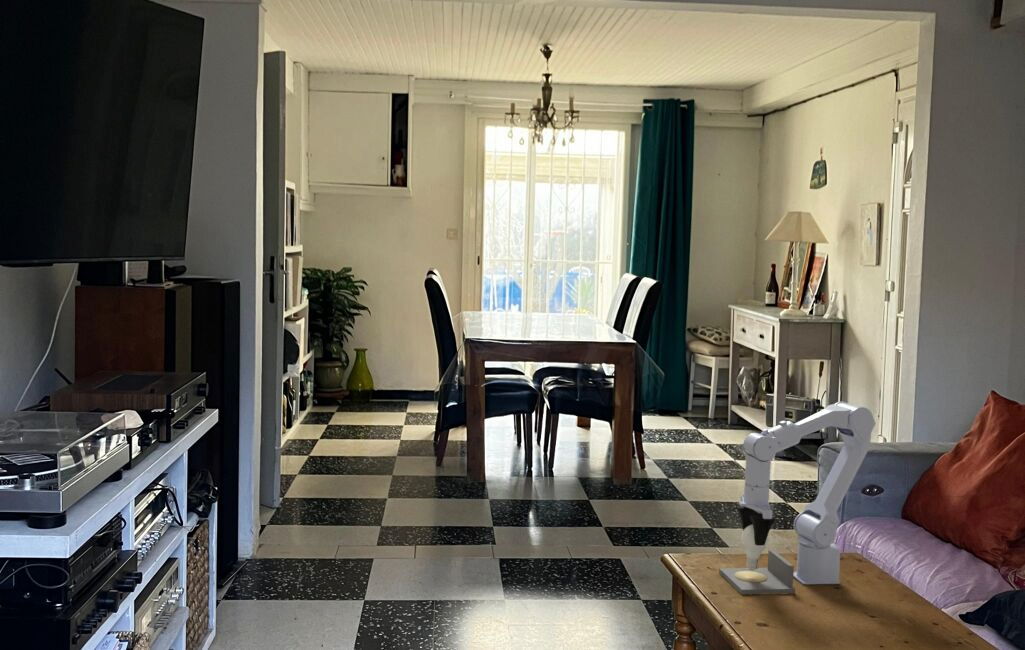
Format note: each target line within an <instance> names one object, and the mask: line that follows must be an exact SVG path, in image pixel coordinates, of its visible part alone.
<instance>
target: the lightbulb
mask: <svg viewBox="0 0 1025 650" xmlns="http://www.w3.org/2000/svg"><path fill="white" fill-rule="evenodd" d="M769 541H770V537H769V534H768V536H767V539H766V542H765V545H755V540H754V528H753V524H752V525H749V526H747V527H746V528H745V529H744V530H743V529H742V533H741V542H742V544H743V546H744V549H745V555H746V564H745V568H748V569H749V570H751V571H753V570H755V569H757V568H759V567H758V566H759V559H760V557H761V555H762V553H763V552H764V550H765V548H767V547H768V545H769Z"/></svg>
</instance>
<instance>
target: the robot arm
mask: <svg viewBox="0 0 1025 650" xmlns="http://www.w3.org/2000/svg"><path fill="white" fill-rule="evenodd" d="M875 426H876V421H875V418H874V415H873V413H872V411H871V410H870V409H869V408H867V407H864V406H859V405H854V404H851V403H848V402H846V401H843V400H842V401H838V402H835V403H833V404H829V405H827V406H826V407H825V408H823V409H822V410H820V411H818V412H815V413H814V414H812V415H810V416H808V417H806V418H803V419H801V420H799V421H797V422H795V423H794V422H792V421H788V420H787V421H786V420H782V421H779V422H778V424H777V425H775V426H773V427H770V428H769V429H767V428H764V429H762V430H761V432H760V433H758V432H751V433H750V434H748V435H747V436H746V437H745V438H744V440H743V443H741V449H742V451H743V453H744V455H745V471H744V488H743V489H744V490H743V492H744V493H743V494H741V495H740V501H739V502H738V505H736V510H737V513H738V514H739V518H740V521H741V527H742V531H743V530H744V529H745V528H746V527H747V526H749V525H752V524H753V528H754V540H755V545H765V542H766V539H767V536H768V535H769V533H770V530H771V528H772V527H773V525H774V523H775V522H776V517H775V516H773V510H772V508H771V506H770V505H771V504H770V503H769V500H770V485H771V484H770V483H771V482H770V481H771V480H770V479H771V460H772V459H774V457H775V456H776V454H777V453H778V452H781V451H783V450H784V451H785V450H786V449H788V448H791V447H793V446H795V445H798V444H799V443H801V442H800V441H801V440H802V437H803V436H806V435H810V434H813V433H814V432H817V431H821V430H823V429H826V428H829V427H834V428H835V429H836V430H837V431H838V433H839V435H840V437H841V439H842V441H843V447H842V448H841V450H840V451H839V454H838V456H837V458H836V460H835V462H834V464H833V466H832V467H831V469H830V471H829V473H828V475H827V477H826V479H825V481H824V482H823V485H822V486H821V488H820V490H819V492H818V495H817V496H816V498H815V500H814V501H812V502H810V503H807V505H805V506H804V508H803V510H802V511H801V512H800V513H799V514H797V515H796V516H795V518H794V520H793V529H794V531H795V533H796V535H797V543H798V544H797V561H796V571H794V572H793V578H794V579H795V580H797V581H798V582H800V584H803V585H838V584H839V585H840V584H841V581H840V580H839V579H840V566H841V565H840V564H841V553H840V549H839V547H838V545H837V544H836V543H834V541H835V539H836V537H837V529H838V526H839V524H840V518H839V517H838V512H837V511H838V510H839V508H840V506H841V503H842V502H843V500H844V498H845V496H846V494H847V492H848V490H849V488H850V486H851V484H852V483H853V481H854V479H855V476H856V474H857V473H858V471H859V470H860V467H861V465H862V463H863V461H864V460H865V457H866V455H867V453H868V451H869V449H870V447H871V439H872V432H873V430H874V428H875Z"/></svg>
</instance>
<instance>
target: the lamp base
mask: <svg viewBox="0 0 1025 650" xmlns="http://www.w3.org/2000/svg"><path fill="white" fill-rule="evenodd" d="M767 551H768V553H767V554H768V555H767V567H757V569H755V570H753V571H751V570H749V569H748V568H747V567H737V568H736V567H733V568H730V567H729V568H727V567H726V568H718V574H719V573H720V574H721V575H722V576H723V577H724V579H725V581H726V582H728V584H729V585H731V586H732V588H734V587H735V588H734V589H735V591H737V592H738V593H739V594H740V593H741V594H740V595H741V596H746V595H745V594H750V596H751V595H752V594H760V595H765V594H764V593H775V594H774V595H782V594H781V593H785V594H784V595H787V594H786V593H795V594H796V588H795V587H794V585H793V584H794V577H793V572H795V570H794V568H795V565H794V564H792V563H791V562H790V561H788V560H787V559H786V558H784V556H782V555H781V554H779V553H778V552H777V551H775V550H774V549H768V550H767ZM720 574H719V575H720ZM721 575H720V576H721ZM722 576H721V577H722ZM723 577H722V578H723ZM776 593H777V594H776Z"/></svg>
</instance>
